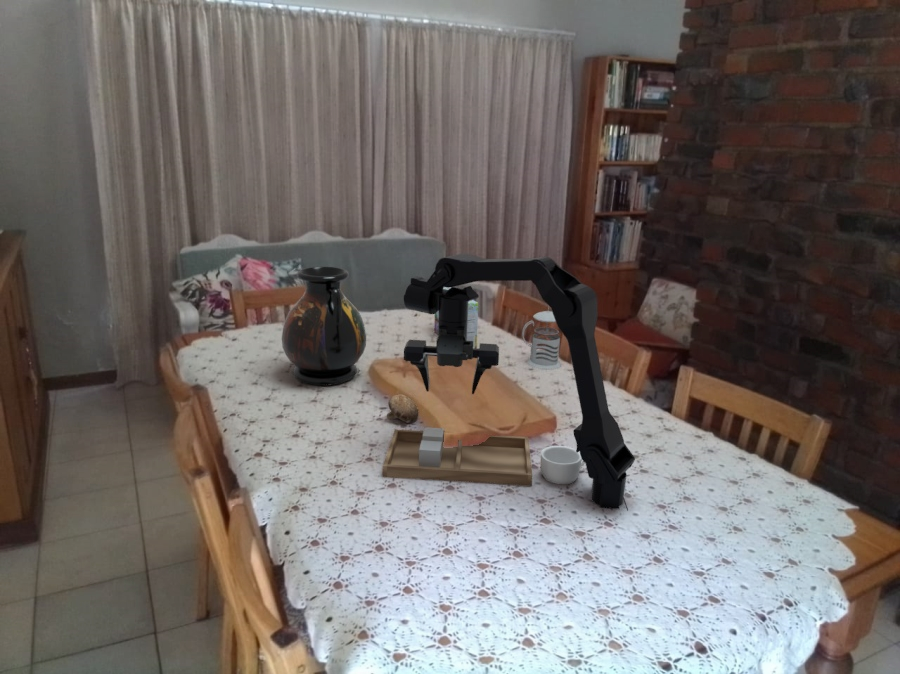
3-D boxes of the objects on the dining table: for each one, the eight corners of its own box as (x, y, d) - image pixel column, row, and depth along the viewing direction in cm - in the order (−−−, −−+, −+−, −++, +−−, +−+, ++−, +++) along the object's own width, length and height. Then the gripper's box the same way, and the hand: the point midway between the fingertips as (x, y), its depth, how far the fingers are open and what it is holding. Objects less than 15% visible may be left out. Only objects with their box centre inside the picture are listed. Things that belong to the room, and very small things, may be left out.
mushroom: (373, 408, 152) (390, 388, 151) (391, 409, 159) (407, 390, 158) (395, 433, 149) (413, 412, 148) (412, 433, 156) (429, 413, 155)
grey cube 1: (443, 448, 140) (444, 428, 139) (441, 457, 136) (442, 437, 135) (424, 447, 141) (424, 427, 139) (422, 456, 137) (422, 435, 135)
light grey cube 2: (441, 462, 135) (441, 441, 133) (439, 472, 131) (440, 451, 129) (421, 460, 135) (421, 440, 133) (418, 470, 131) (419, 449, 130)
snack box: (432, 332, 219) (433, 286, 214) (448, 330, 221) (449, 285, 217) (461, 352, 201) (463, 303, 196) (478, 350, 203) (480, 301, 199)
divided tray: (531, 489, 127) (532, 475, 126) (382, 480, 129) (382, 466, 128) (527, 450, 143) (528, 437, 142) (394, 442, 144) (394, 429, 143)
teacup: (554, 493, 126) (556, 467, 125) (530, 474, 133) (532, 450, 131) (596, 482, 131) (599, 457, 129) (572, 464, 137) (574, 440, 136)
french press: (563, 370, 189) (571, 282, 182) (522, 368, 190) (528, 280, 182) (559, 358, 199) (566, 274, 191) (519, 356, 199) (525, 272, 191)
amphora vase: (380, 382, 176) (380, 276, 168) (300, 397, 165) (296, 284, 157) (346, 357, 194) (345, 260, 185) (272, 369, 183) (267, 266, 174)
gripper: (400, 328, 127) (399, 405, 131) (500, 333, 126) (496, 411, 130) (407, 311, 137) (406, 384, 142) (500, 316, 136) (496, 389, 141)
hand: (450, 392), depth 139 cm, fingers open, 9 cm apart
